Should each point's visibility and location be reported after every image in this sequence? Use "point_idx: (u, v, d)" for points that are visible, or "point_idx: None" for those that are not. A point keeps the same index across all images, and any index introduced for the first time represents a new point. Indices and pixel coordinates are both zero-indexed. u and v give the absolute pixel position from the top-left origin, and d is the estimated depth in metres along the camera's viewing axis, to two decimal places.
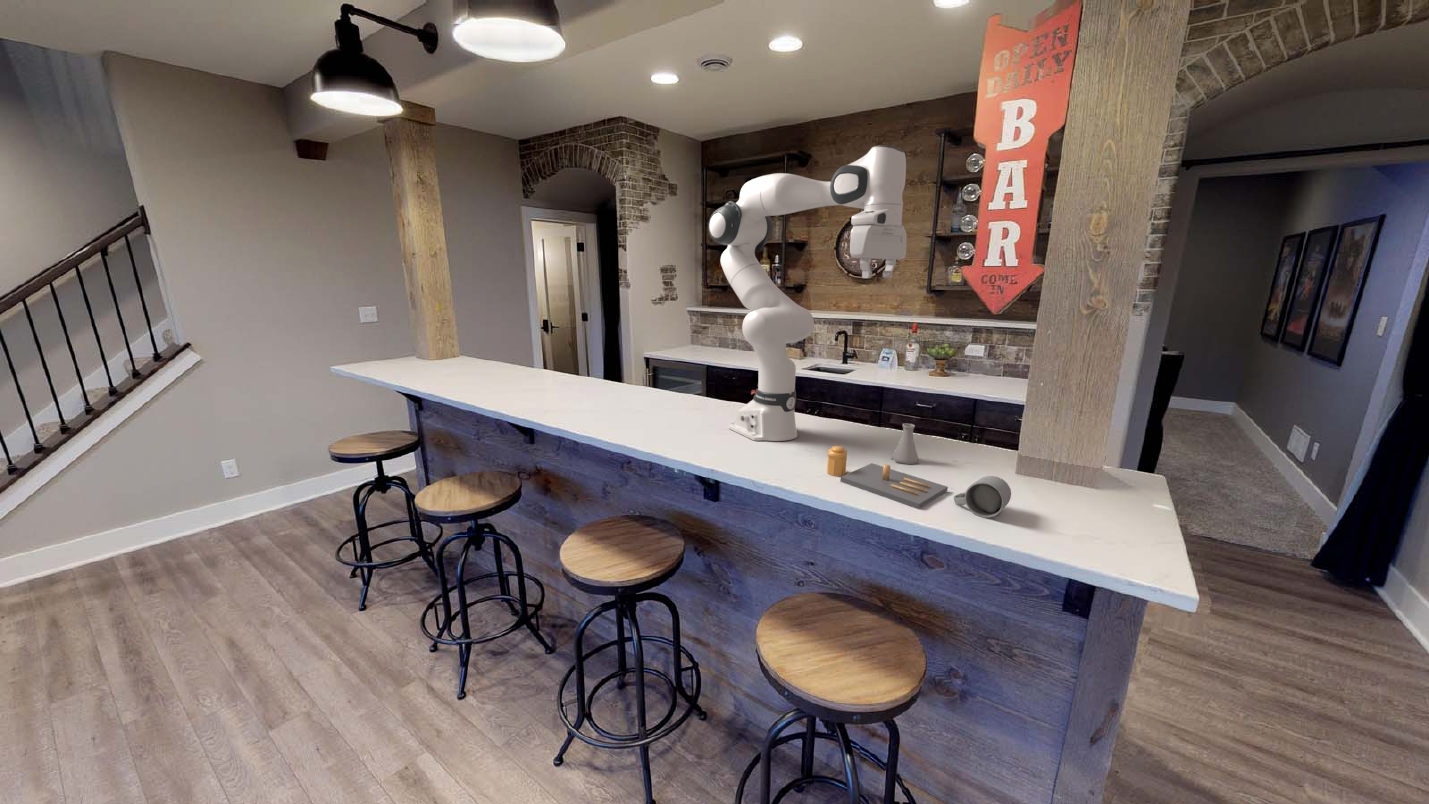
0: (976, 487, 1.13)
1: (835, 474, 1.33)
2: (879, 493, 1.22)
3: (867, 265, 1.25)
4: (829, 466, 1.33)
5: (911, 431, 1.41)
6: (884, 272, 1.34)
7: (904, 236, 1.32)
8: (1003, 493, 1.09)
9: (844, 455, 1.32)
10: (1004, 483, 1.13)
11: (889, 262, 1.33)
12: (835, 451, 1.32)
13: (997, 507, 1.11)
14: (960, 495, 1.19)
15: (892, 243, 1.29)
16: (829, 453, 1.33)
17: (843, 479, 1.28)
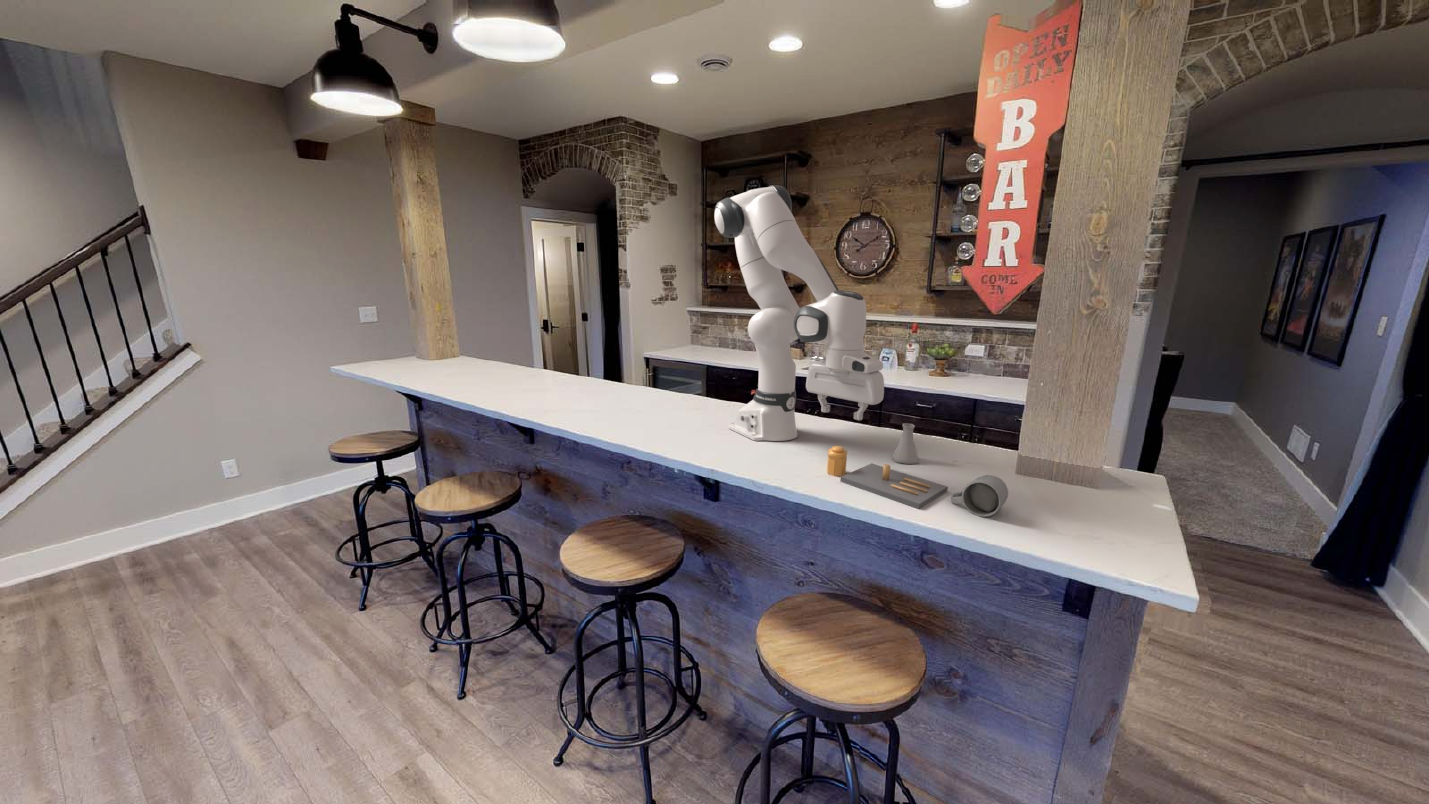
0: (973, 486, 1.14)
1: (835, 474, 1.33)
2: (879, 493, 1.22)
3: None
4: (829, 466, 1.33)
5: (911, 431, 1.41)
6: (827, 407, 1.33)
7: None
8: (999, 492, 1.09)
9: (844, 455, 1.32)
10: (1001, 483, 1.13)
11: (824, 397, 1.33)
12: (835, 451, 1.32)
13: (994, 506, 1.12)
14: (958, 495, 1.20)
15: None
16: (829, 453, 1.33)
17: (843, 479, 1.28)
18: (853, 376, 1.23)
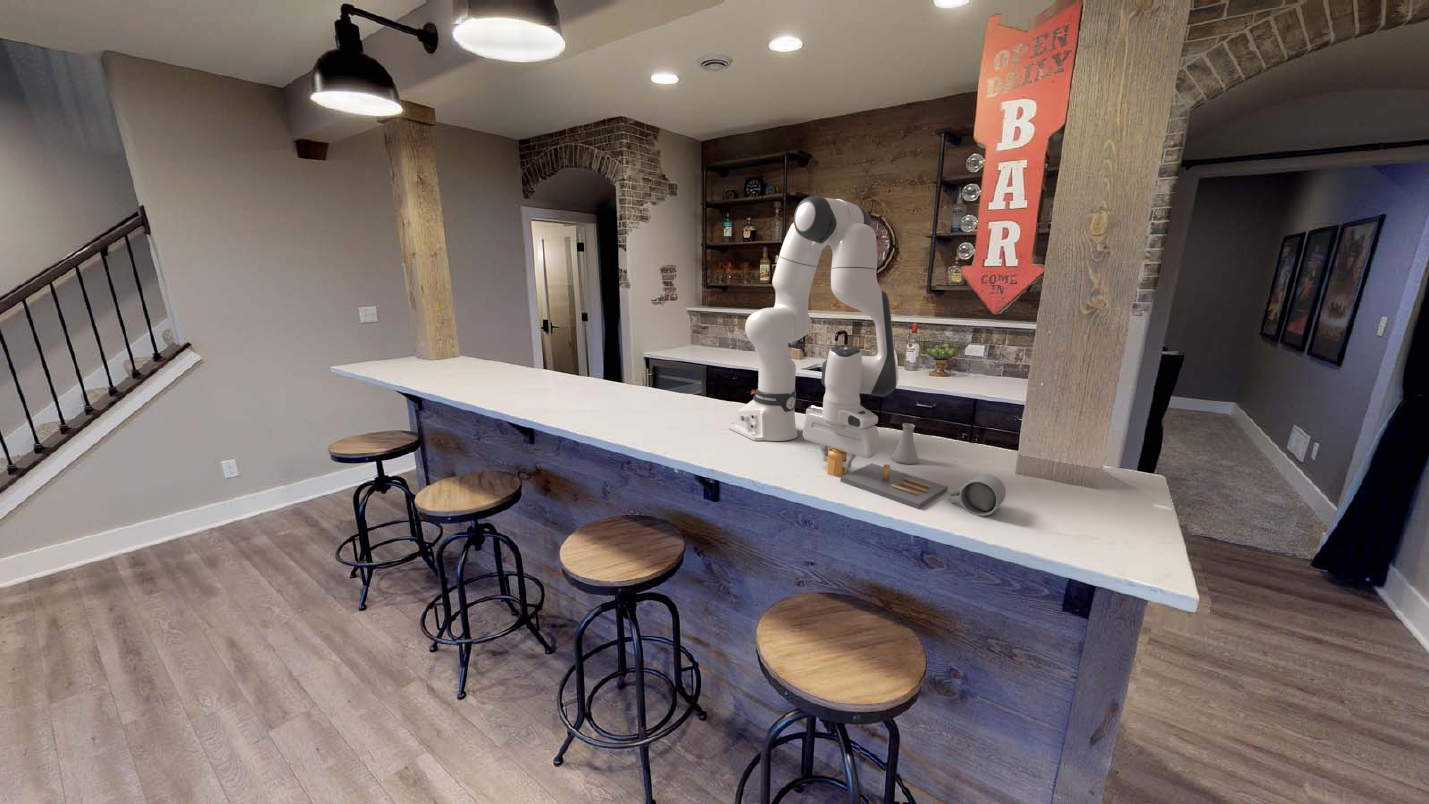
0: (971, 486, 1.14)
1: (835, 474, 1.32)
2: (879, 493, 1.22)
3: (854, 457, 1.31)
4: (829, 466, 1.33)
5: (911, 431, 1.41)
6: None
7: None
8: (997, 492, 1.10)
9: (844, 455, 1.32)
10: (999, 482, 1.13)
11: (826, 447, 1.36)
12: (835, 451, 1.32)
13: (992, 505, 1.12)
14: (955, 494, 1.20)
15: None
16: (829, 453, 1.33)
17: (843, 479, 1.28)
18: (849, 429, 1.27)
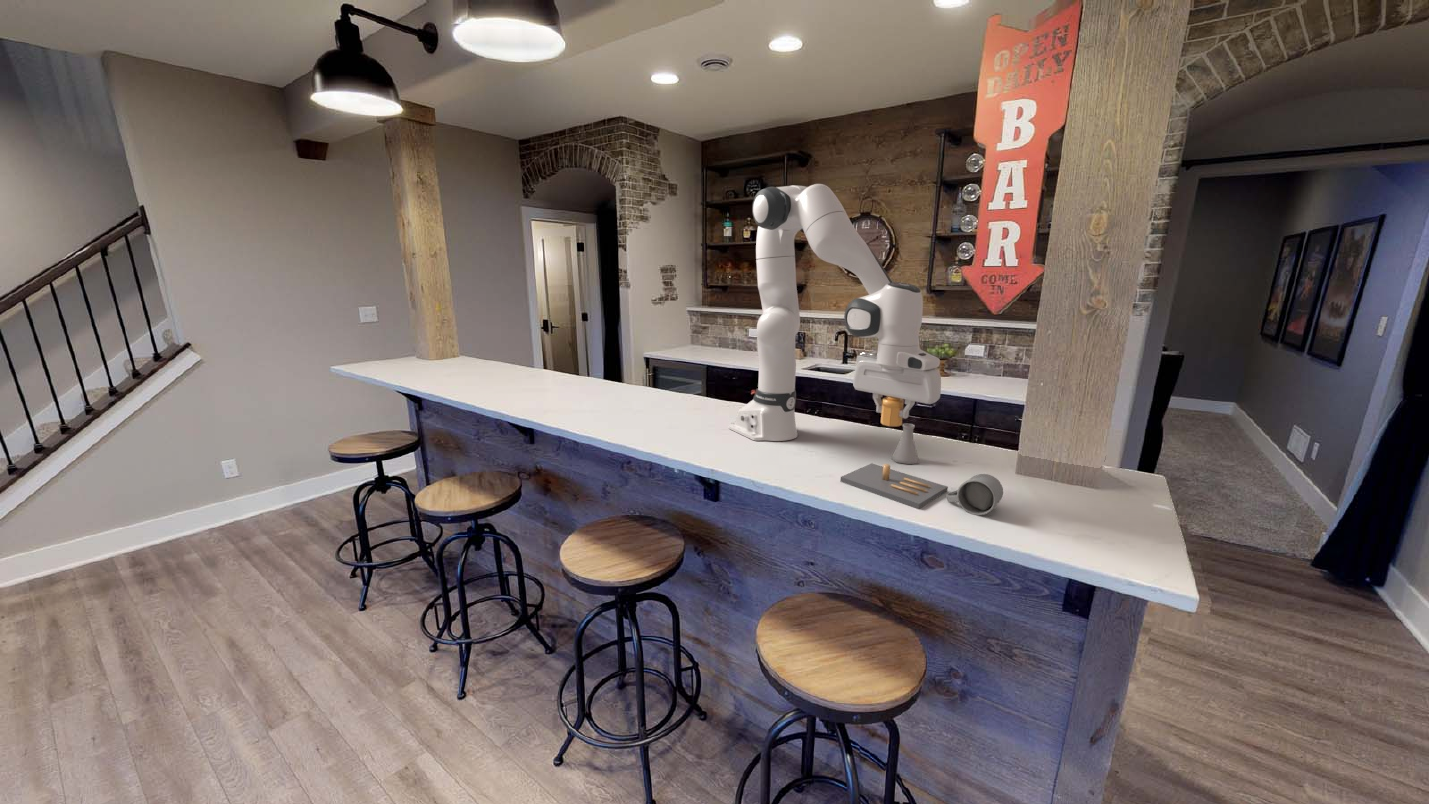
0: (968, 485, 1.15)
1: (891, 424, 1.22)
2: (879, 493, 1.22)
3: (912, 405, 1.21)
4: (884, 416, 1.23)
5: (911, 431, 1.41)
6: None
7: None
8: (994, 491, 1.10)
9: (901, 403, 1.21)
10: (996, 481, 1.14)
11: (880, 396, 1.25)
12: (891, 399, 1.22)
13: (989, 505, 1.12)
14: (953, 493, 1.20)
15: None
16: (884, 402, 1.22)
17: (843, 479, 1.28)
18: (909, 373, 1.16)
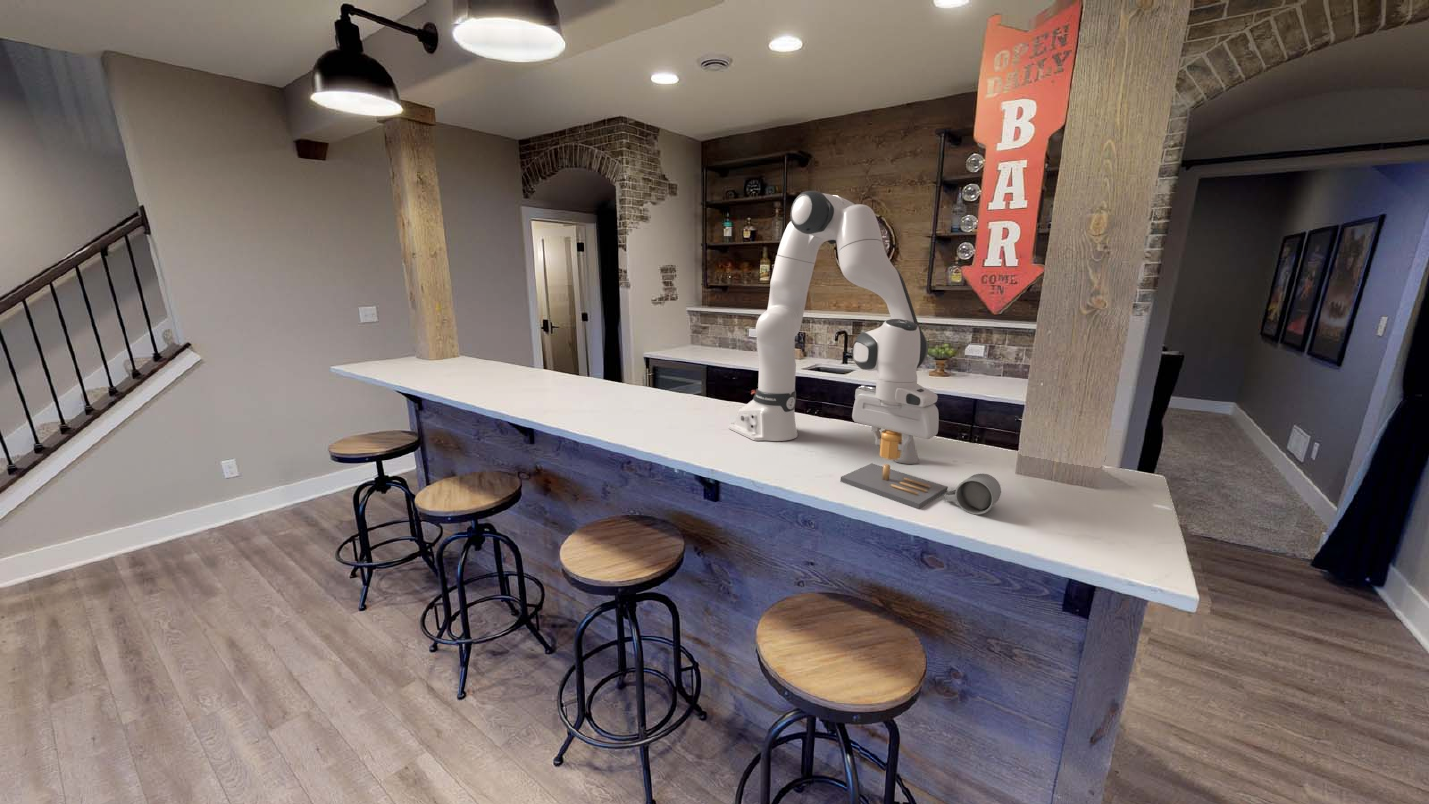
0: (966, 484, 1.15)
1: (890, 457, 1.24)
2: (879, 493, 1.22)
3: (910, 439, 1.23)
4: (883, 449, 1.25)
5: None
6: None
7: None
8: (992, 490, 1.10)
9: (899, 437, 1.23)
10: (994, 481, 1.14)
11: (879, 429, 1.27)
12: (890, 433, 1.24)
13: (987, 504, 1.13)
14: (951, 493, 1.21)
15: None
16: (883, 435, 1.25)
17: (843, 479, 1.28)
18: (907, 408, 1.19)
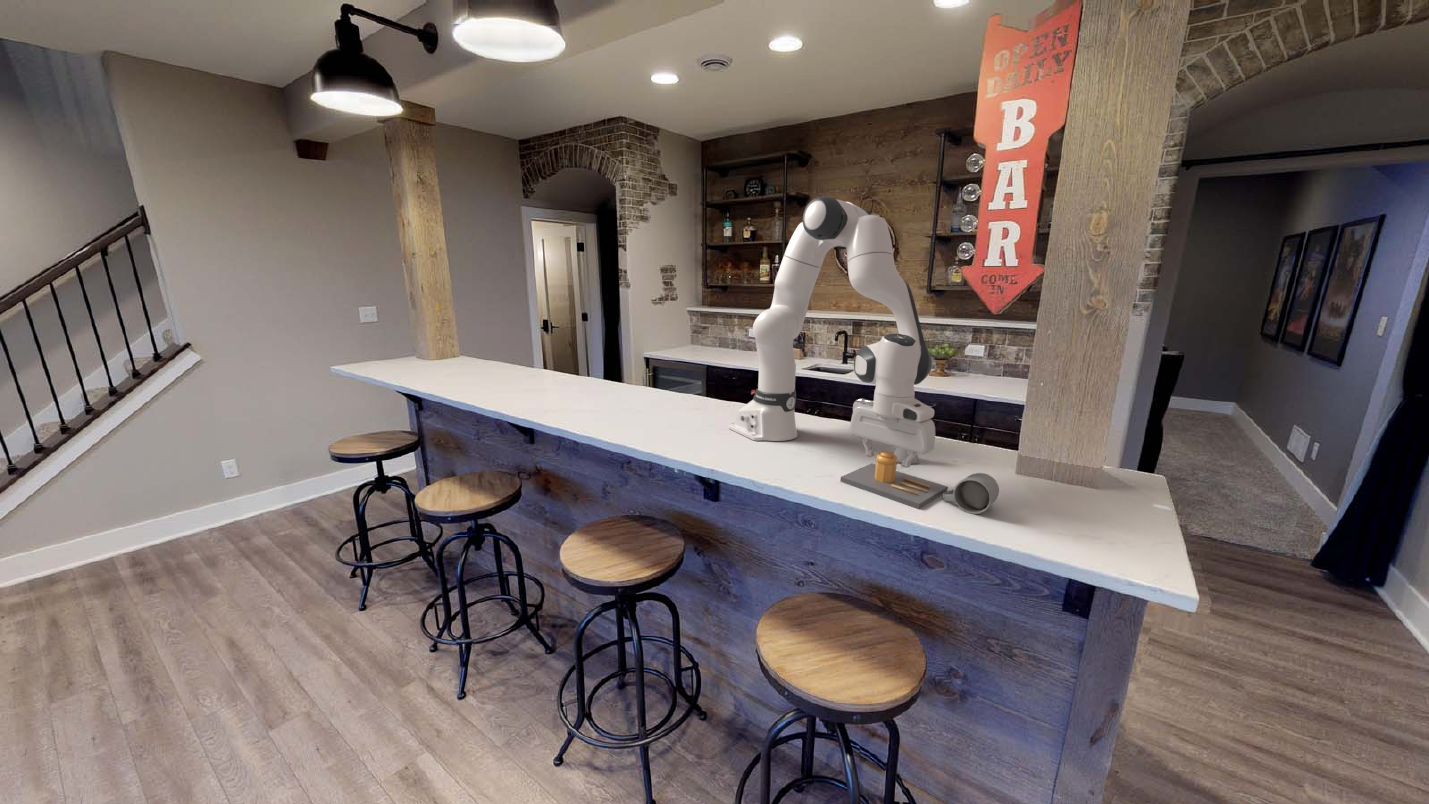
0: (964, 484, 1.15)
1: (884, 480, 1.26)
2: (879, 493, 1.22)
3: None
4: (878, 472, 1.27)
5: None
6: (871, 452, 1.29)
7: None
8: (990, 490, 1.11)
9: (894, 460, 1.25)
10: (992, 480, 1.14)
11: (869, 440, 1.30)
12: (885, 456, 1.25)
13: (985, 503, 1.13)
14: (949, 492, 1.21)
15: None
16: (878, 458, 1.26)
17: (843, 479, 1.28)
18: (904, 423, 1.19)
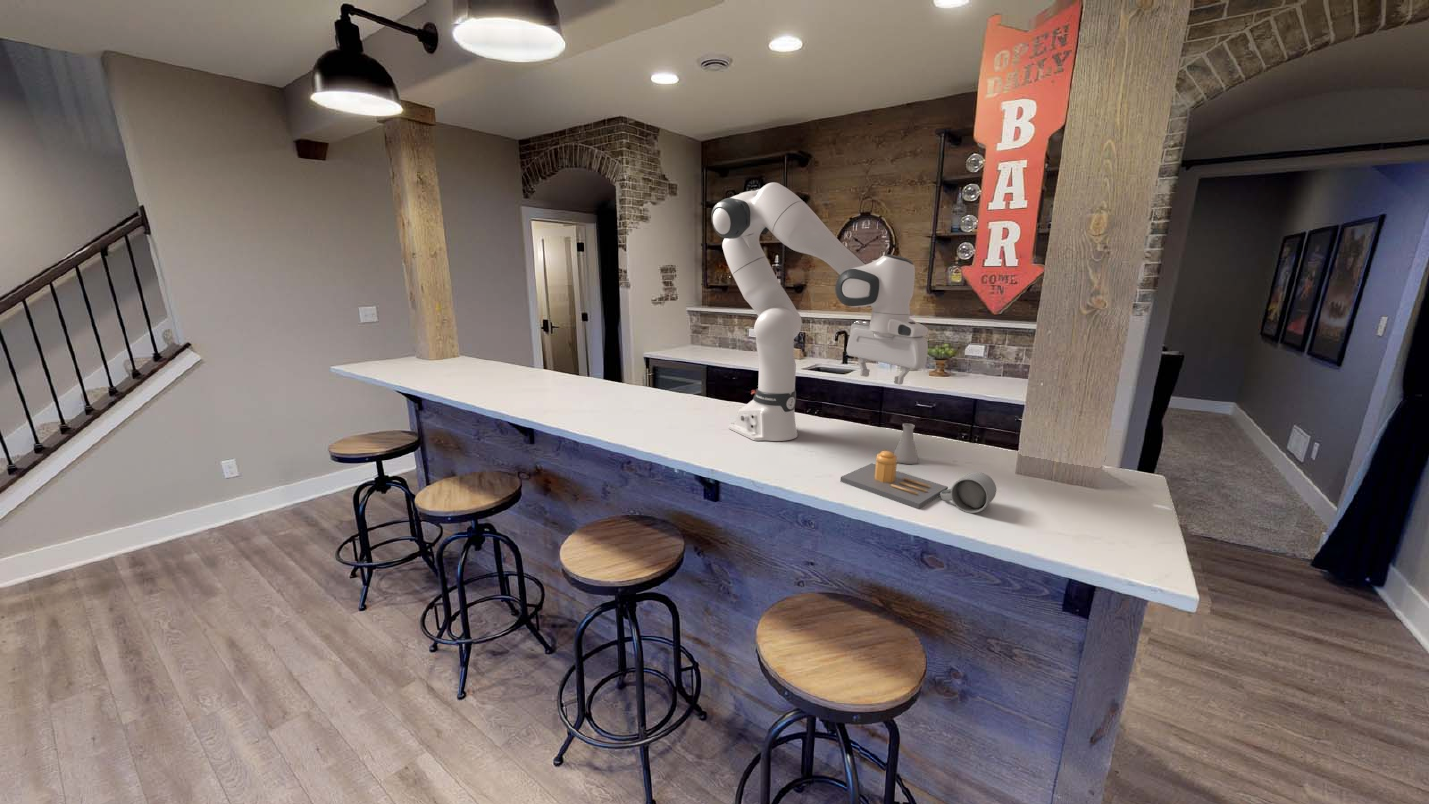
0: (962, 483, 1.15)
1: (884, 480, 1.26)
2: (879, 493, 1.22)
3: (907, 372, 1.28)
4: (878, 472, 1.27)
5: (911, 431, 1.41)
6: (866, 371, 1.35)
7: None
8: (987, 489, 1.11)
9: (894, 460, 1.25)
10: (989, 479, 1.15)
11: (865, 361, 1.35)
12: (885, 456, 1.25)
13: (982, 503, 1.13)
14: (947, 492, 1.21)
15: None
16: (878, 458, 1.26)
17: (843, 479, 1.28)
18: (898, 340, 1.25)
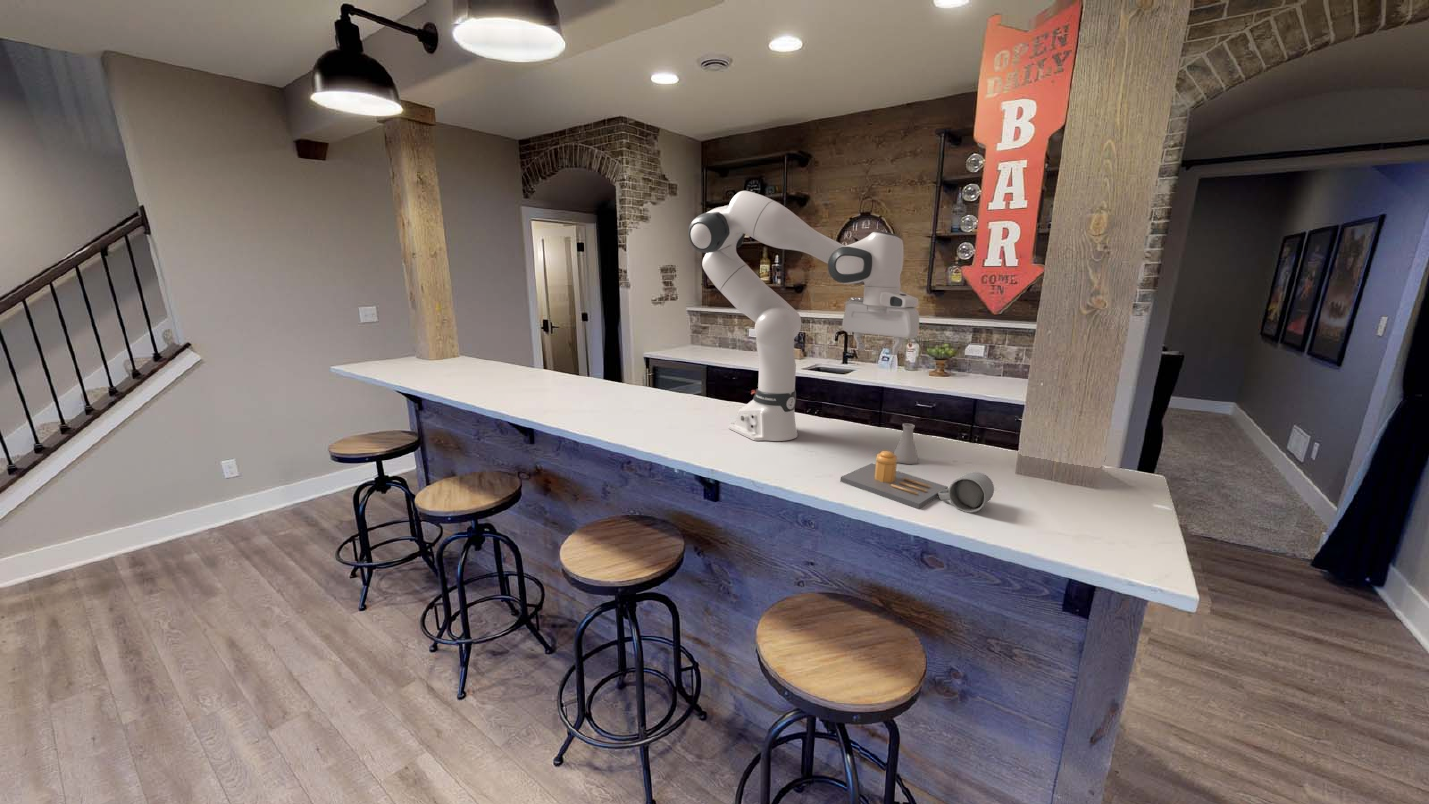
0: (959, 483, 1.16)
1: (884, 480, 1.26)
2: (879, 493, 1.22)
3: None
4: (878, 472, 1.27)
5: (911, 431, 1.41)
6: (862, 345, 1.41)
7: None
8: (985, 488, 1.11)
9: (894, 460, 1.25)
10: (987, 479, 1.15)
11: (860, 335, 1.41)
12: (885, 456, 1.25)
13: (980, 502, 1.14)
14: (945, 491, 1.21)
15: None
16: (878, 458, 1.26)
17: (843, 479, 1.28)
18: (891, 311, 1.31)
